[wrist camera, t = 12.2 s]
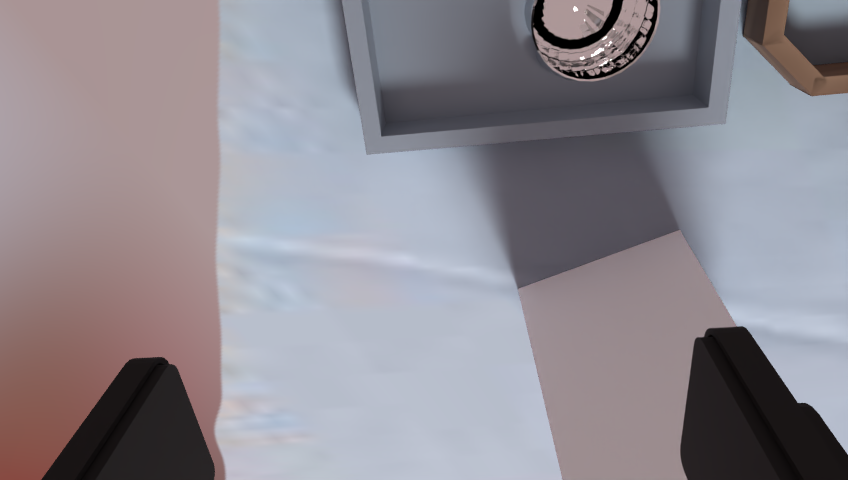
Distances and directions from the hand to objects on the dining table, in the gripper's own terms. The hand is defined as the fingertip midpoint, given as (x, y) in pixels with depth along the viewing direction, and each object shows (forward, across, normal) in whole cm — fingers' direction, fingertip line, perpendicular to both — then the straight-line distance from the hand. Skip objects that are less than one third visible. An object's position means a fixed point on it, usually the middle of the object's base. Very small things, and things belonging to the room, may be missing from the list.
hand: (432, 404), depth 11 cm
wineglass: (+28, -6, -4) cm, 28 cm away
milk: (+29, -11, +20) cm, 37 cm away
